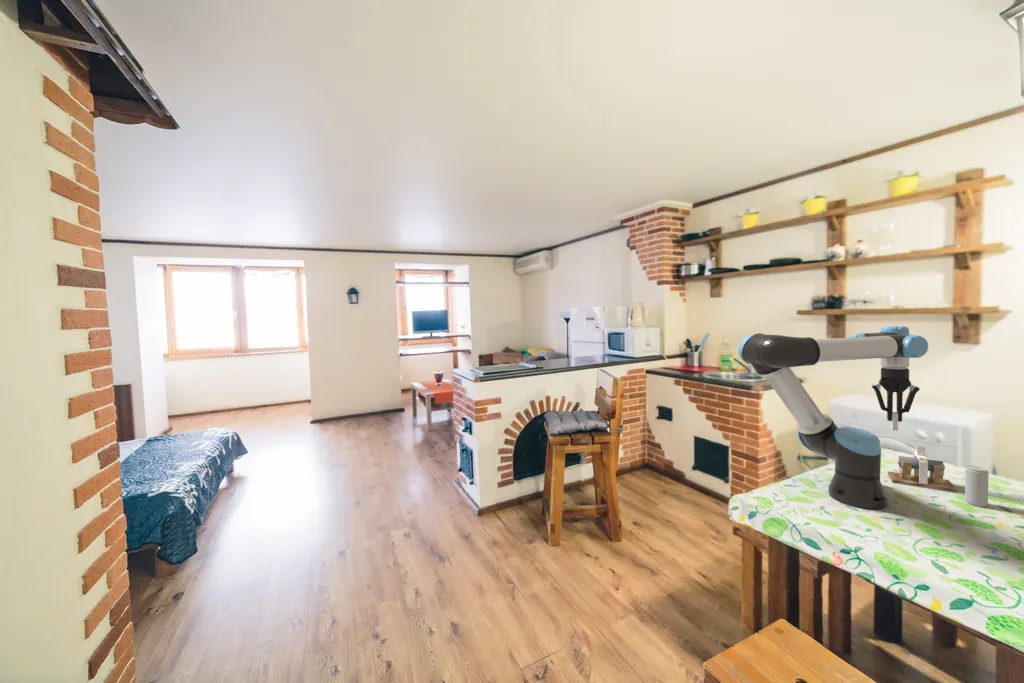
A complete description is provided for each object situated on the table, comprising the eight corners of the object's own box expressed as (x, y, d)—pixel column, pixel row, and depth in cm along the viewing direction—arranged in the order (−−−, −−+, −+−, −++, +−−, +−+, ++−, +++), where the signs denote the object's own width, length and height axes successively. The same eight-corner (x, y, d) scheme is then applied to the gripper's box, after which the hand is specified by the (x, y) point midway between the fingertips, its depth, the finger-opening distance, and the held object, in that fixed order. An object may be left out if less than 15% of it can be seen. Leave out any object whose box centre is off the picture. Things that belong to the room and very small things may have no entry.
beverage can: (992, 507, 122) (993, 471, 122) (974, 507, 123) (975, 470, 123) (977, 500, 127) (978, 465, 126) (960, 500, 128) (960, 465, 127)
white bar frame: (919, 483, 139) (919, 450, 138) (913, 474, 146) (913, 442, 145) (927, 484, 137) (927, 450, 137) (921, 475, 144) (921, 443, 144)
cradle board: (892, 482, 143) (892, 461, 142) (887, 473, 150) (887, 453, 149) (956, 492, 133) (957, 469, 133) (948, 482, 140) (948, 461, 140)
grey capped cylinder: (899, 468, 143) (899, 457, 143) (896, 464, 146) (896, 454, 146) (945, 474, 136) (945, 463, 136) (942, 470, 139) (942, 459, 139)
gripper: (872, 368, 144) (872, 430, 145) (922, 369, 136) (922, 434, 138) (869, 365, 150) (869, 424, 151) (917, 366, 142) (916, 429, 144)
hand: (894, 429), depth 145 cm, fingers closed
